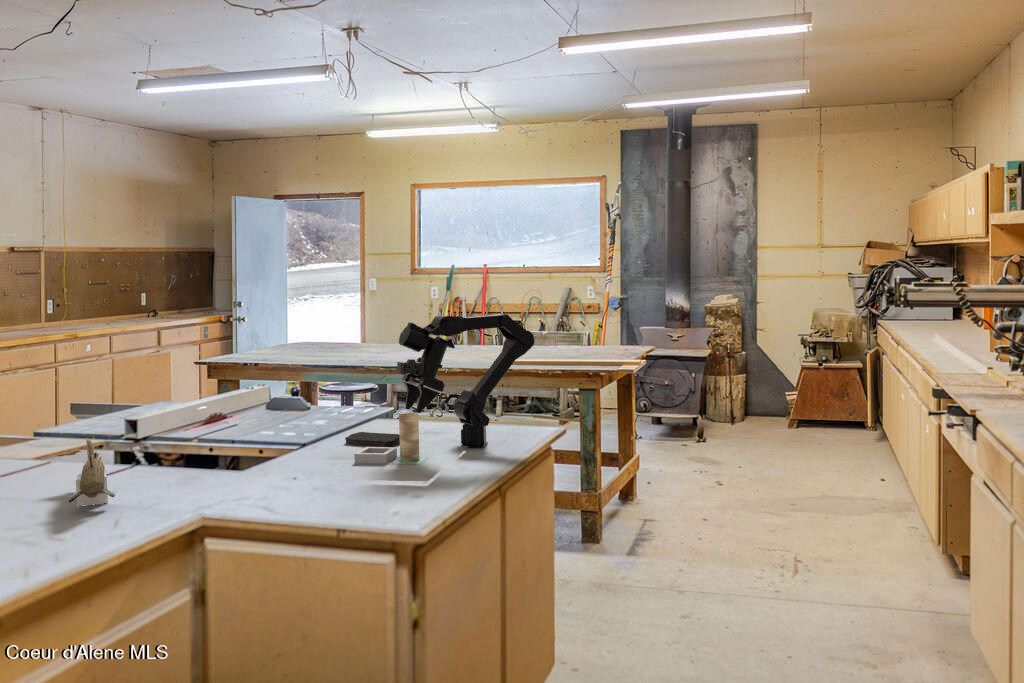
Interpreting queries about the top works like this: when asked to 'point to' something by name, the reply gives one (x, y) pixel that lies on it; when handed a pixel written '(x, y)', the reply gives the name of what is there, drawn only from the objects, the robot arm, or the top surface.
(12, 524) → the top surface
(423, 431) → the top surface
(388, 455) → the jig board
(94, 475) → the wood carving
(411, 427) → the maple post
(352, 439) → the black sponge
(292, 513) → the top surface
